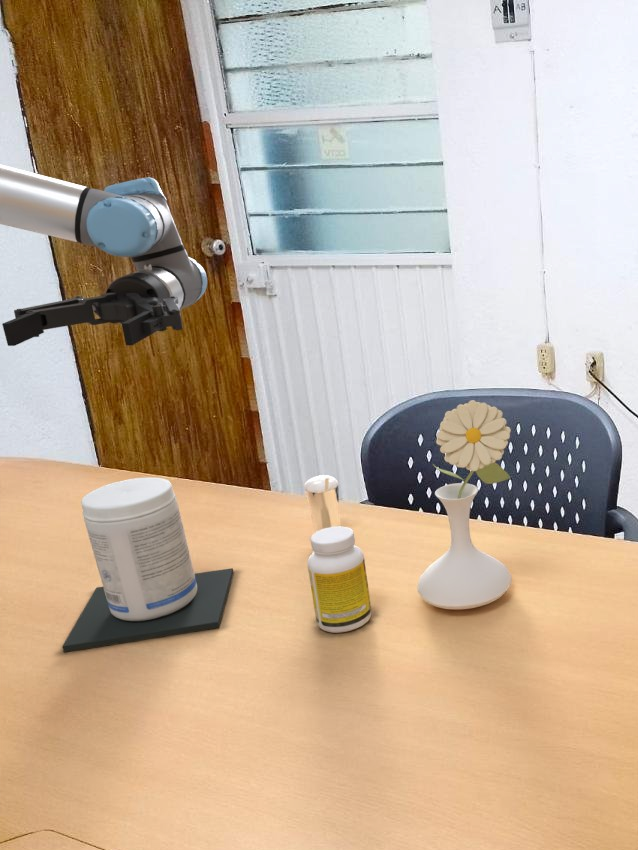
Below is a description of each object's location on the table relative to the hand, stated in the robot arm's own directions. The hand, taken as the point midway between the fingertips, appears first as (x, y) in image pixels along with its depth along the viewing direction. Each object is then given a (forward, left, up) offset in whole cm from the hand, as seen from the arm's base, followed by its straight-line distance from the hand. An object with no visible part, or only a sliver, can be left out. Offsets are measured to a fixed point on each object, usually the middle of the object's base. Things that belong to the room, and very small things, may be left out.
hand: (67, 334), depth 99 cm
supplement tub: (+6, -12, -31) cm, 34 cm away
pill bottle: (+28, -22, -32) cm, 48 cm away
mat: (+6, -12, -32) cm, 35 cm away
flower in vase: (+43, -21, -32) cm, 58 cm away
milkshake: (+26, +2, -32) cm, 41 cm away
